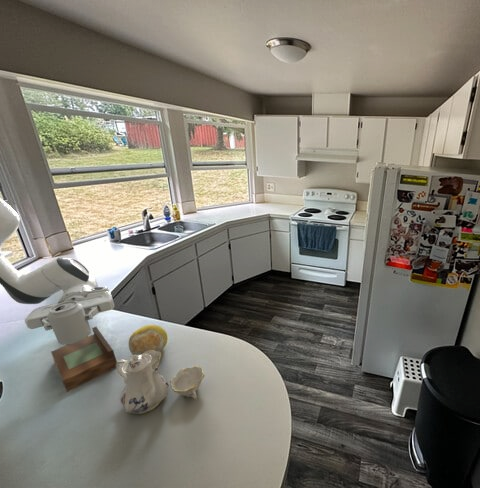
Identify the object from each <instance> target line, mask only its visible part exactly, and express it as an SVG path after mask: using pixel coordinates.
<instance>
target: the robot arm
mask: <svg viewBox="0 0 480 488" xmlns="http://www.w3.org/2000/svg"><path fill="white" fill-rule="evenodd" d="M20 223H21V222H20V216H19V214H18V213H17V212H16V210H14V208H13V207H11V205H9V204H8V203H7V202H6V201H4V200H3V199H2V198H1V197H0V285H1V286H2V287H3V289H4V290H5V291H6V293H7V294H8V295H9V297H10V298H11V299H12V300H14V301H15V302H16V303H19V304H20V305H21V304H22V305H38V304H41V303H42V302H44V301H46V300H47V299H48V298H51V296H53V295H55V294H56V293H58V292H60V291H62V293H61V295H60V298H59V300H58V302H57V303H52V304H47V305H43V306H39V307H36V308H34V309H33V310H32V311H31V312H30V313H28V314H27V316H26V317H25V318H24V323H25V325H26V328H27V329H30V330H34V329H39V328H42V327H43V329H44V330H45V332H46V331H50V330H53V329H52V326H51V324H50V322H49V319H48V317H47V316H48V314H49V309H50V308H51V307H53V306H55V305H57V304H59V303H62V302H66V301H77V302H78V304H81V305H82V306H83V309H84V312H85V318H86V320H88V321H90V320H93V318H94V317H95V316H96V315H98V314H100V313H104V312H108V311H112V310H113V309H115V301H114V299H113V296H112V293H111V292H110V290H109V288H108V287H107V286H99V283H98V280H97V278H96V277H95V276H94V275H93V274H91V273H90V272H89V269H87V267H86V266H85V265H83V264H82V263H81V262H80V261H78V260H76V259H73V258H68V257H57V258H56V259H53V260H51V261H49V262H47V263H45V264H43V265H42V266H40V267H38V268H36V269H34V270H32V271H30V272H28V273H26V274H23V273H21V272H19V270H17V269H16V267H14V266H13V264H12V263H10V261H9V260H8V259H7V258H6V257H5V256H4V255H3V253H2V248H3V246H4V245H5V243H6V242H7V241H8V240H9V239H10V238H11V237H12V236H13V235H14V234H15V232H16V231H17V230H18V228H19V227H20Z"/></svg>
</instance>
